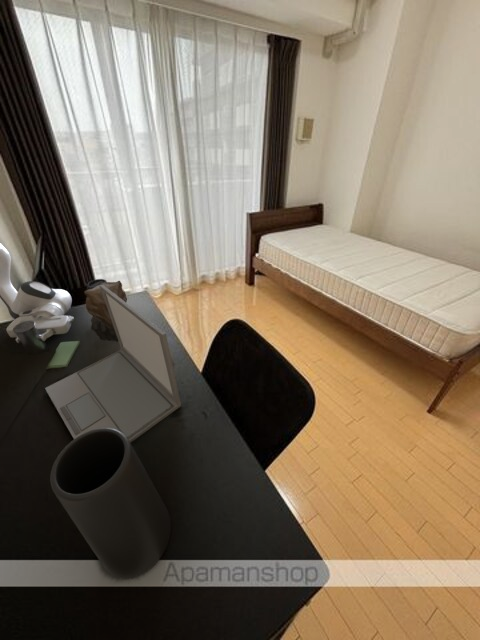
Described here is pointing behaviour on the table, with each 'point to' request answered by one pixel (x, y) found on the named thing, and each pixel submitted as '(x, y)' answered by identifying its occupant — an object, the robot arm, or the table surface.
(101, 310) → the owl
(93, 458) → the vase
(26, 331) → the can
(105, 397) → the laptop
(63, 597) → the table surface
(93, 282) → the coffee cup
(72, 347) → the rag
